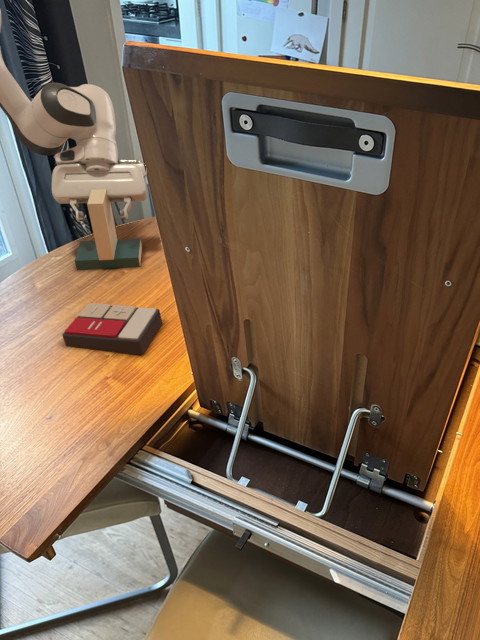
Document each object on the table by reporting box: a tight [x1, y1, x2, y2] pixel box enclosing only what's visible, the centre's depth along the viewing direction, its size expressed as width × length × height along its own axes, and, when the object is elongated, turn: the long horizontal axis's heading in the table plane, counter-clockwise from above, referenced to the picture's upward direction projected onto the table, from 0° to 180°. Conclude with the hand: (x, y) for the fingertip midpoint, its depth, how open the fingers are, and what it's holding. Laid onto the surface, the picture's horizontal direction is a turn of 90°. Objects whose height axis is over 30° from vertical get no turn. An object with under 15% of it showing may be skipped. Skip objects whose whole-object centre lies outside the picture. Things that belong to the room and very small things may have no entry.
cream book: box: [86, 189, 119, 260], centre depth 116 cm, size 3×11×13 cm, turn 9°
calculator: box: [62, 302, 163, 356], centre depth 98 cm, size 11×4×15 cm
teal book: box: [74, 238, 143, 271], centre depth 121 cm, size 14×10×3 cm
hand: (102, 219), depth 115 cm, fingers open, 8 cm apart
